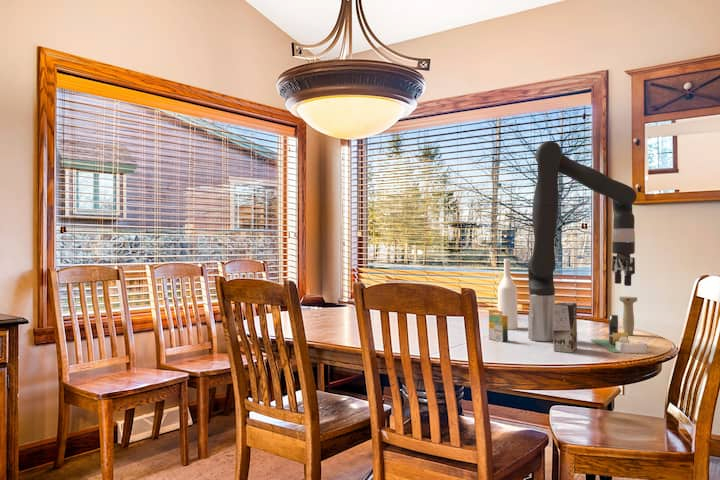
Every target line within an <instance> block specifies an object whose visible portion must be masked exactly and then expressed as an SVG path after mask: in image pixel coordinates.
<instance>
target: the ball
mask: <svg viewBox="0 0 720 480" xmlns="http://www.w3.org/2000/svg"><path fill="white" fill-rule="evenodd" d="M618 342H621V343H623V344H631V343H630V339H629V337H628V338H627V337H620V338H619V340H618Z"/></svg>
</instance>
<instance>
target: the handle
mask: <svg viewBox="0 0 720 480" xmlns="http://www.w3.org/2000/svg"><path fill="white" fill-rule="evenodd" d="M618 299H619V301H620V302H622V303H623V313H622V327H623V333H628V337H630V336H633V335H634V329H635V328H634V327H635V315H634V303H637V301H638V297H637V296H619V297H618Z"/></svg>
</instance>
